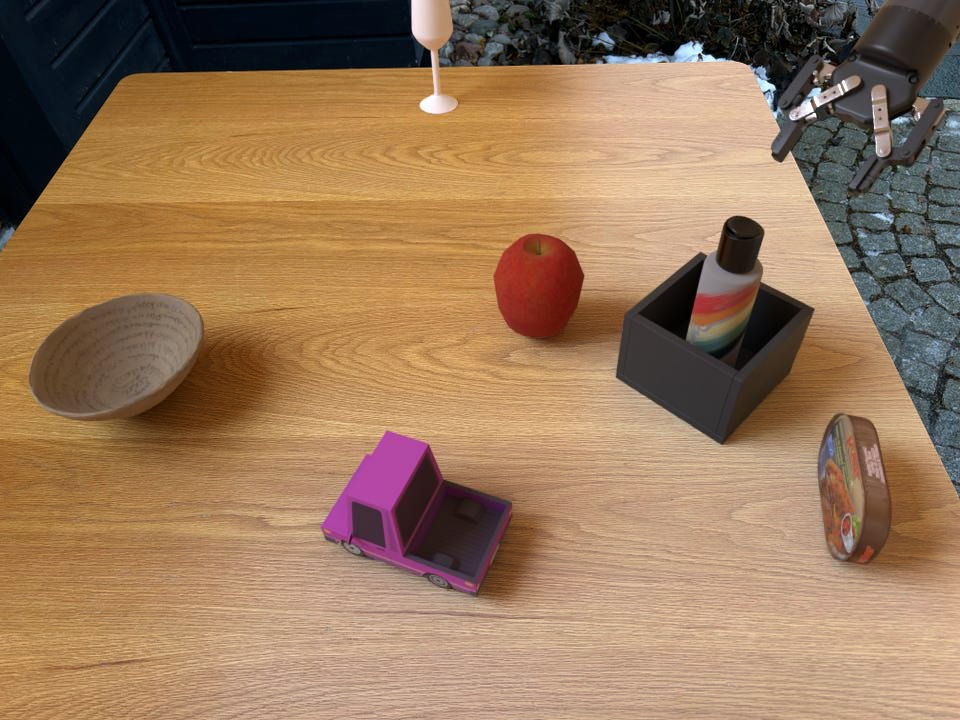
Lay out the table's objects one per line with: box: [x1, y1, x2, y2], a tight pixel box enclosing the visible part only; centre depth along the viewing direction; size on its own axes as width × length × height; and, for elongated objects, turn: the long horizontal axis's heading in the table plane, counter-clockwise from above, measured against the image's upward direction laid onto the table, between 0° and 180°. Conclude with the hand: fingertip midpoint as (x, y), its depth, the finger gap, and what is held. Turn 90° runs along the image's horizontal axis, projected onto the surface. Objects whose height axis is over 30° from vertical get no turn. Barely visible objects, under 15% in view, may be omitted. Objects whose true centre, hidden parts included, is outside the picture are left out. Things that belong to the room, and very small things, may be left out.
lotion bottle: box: [686, 215, 766, 368], centre depth 77 cm, size 6×6×20 cm
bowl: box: [27, 292, 205, 422], centre depth 83 cm, size 18×18×8 cm
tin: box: [817, 412, 893, 565], centre depth 69 cm, size 15×3×8 cm, turn 168°
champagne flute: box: [411, 0, 458, 115], centre depth 122 cm, size 7×7×24 cm
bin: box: [615, 251, 816, 445], centre depth 81 cm, size 14×14×10 cm
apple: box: [492, 232, 585, 339], centre depth 86 cm, size 10×10×14 cm
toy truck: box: [320, 430, 513, 598], centre depth 69 cm, size 11×16×10 cm
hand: (812, 176), depth 74 cm, fingers open, 8 cm apart
